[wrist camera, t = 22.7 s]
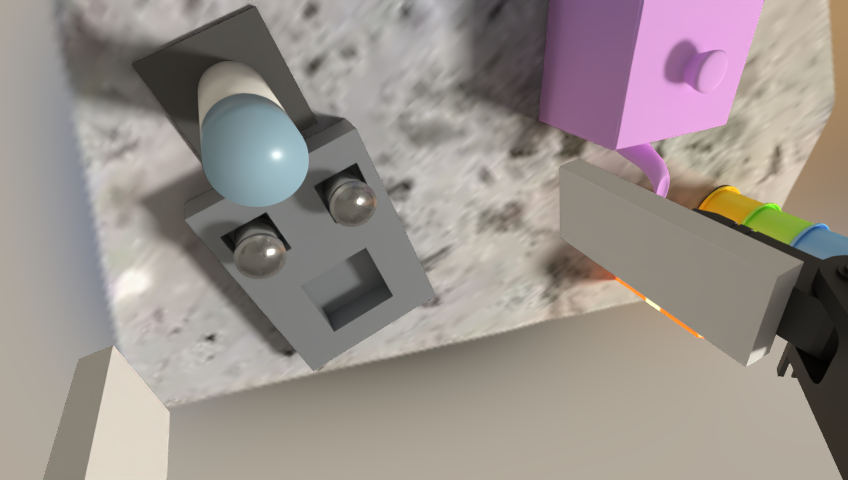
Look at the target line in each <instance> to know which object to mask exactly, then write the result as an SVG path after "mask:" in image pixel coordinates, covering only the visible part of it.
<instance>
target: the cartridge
mask: <svg viewBox="0 0 848 480" xmlns="http://www.w3.org/2000/svg"><path fill="white" fill-rule="evenodd" d="M198 108H199V124H200V139H201V155H202V165H203V169H204V173H205V175H206V177H207V179H208V181H209V182H210V184H211V185H212V186H213V188H214V189H215V190H216V191H217V192H218V193H219V194H220V195H222V196H223V197H225V198H226V199H228V200H230V201H232V202H234V203H237V204H240V205H244V206H249V207H265V206H270V205H274V204H277V203H279V202H281V201H283V200H285V199H287V198H288V197H290V196H291V195H292V194H293V193H294V192H295V191H296V190H297V189H298V188H299V187H300V186H301V184H302V182H303V181H304V179H305V176H306V174H307V170H308V165H309V155H308V149H307V146H306V143H305V141H304V139H303V137H302V135H301V134H300V132H299V131H298V129H297V128H296V126H295V125H294V123H293V122H292V120H291V119H290V117H289V116H288V115H287V113H286V112H285V110H284V109H283V107H282V106H281V104H280V103H279V101H278V100H277V98H276V97H275V95H274V94H273V93H272V91H271V90H270V88H269V87H268V85H267V84H266V82H265V81H264V79H263V78H262V77H261V75H260V74H259V73H258V72H257V71H256V70H254V69H253V68H252V67H250V66H248V65H246V64H244V63H241V62H237V61H222V62H219V63H216V64H214V65H212V66H210V67H209V68H208V69H207V70H206V71H205V72H204V73H203V75H202V76H201V78H200V80H199V83H198Z"/></svg>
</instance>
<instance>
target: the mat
mask: <svg viewBox="0 0 848 480" xmlns="http://www.w3.org/2000/svg"><path fill="white" fill-rule="evenodd" d="M222 61H237V62H241V63H244V64H246V65H248V66H250V67H252V68H253V69H254V70H256V71H257V72H258V73H259V74H260V75H261V77H262V78H263V79H264V81H265V82H266V84H267V85H268V87H269V88H270V90H271V91H272V93H273V94H274V95H275V97H276V98H277V100H278V101H279V103H280V104H281V106H282V107H283V109H284V110H285V112H286V113H287V115H288V116H289V117H290V119H291V120H292V122H293V123H294V125H295V126H296V128H297V129H298V131H299V132H300V131H302V130H304V129H306V128H308V127H309V126H311V125H313V124H315V123H317V121H316V119H315V117H314V115H313V114H312V112H311V110H310V108H309V106H308V104H307V102H306V100H305V98H304V97H303V95H302V93H301V91H300V89H299V87H298V85H297V83H296V82H295V80H294V78H293V76H292V74H291V72H290V70H289V68H288V66H287V65H286V63H285V61H284V59H283V57H282V55H281V53H280V51H279V49H278V48H277V46H276V44H275V42H274V40H273V38H272V36H271V34H270V33H269V31H268V29H267V27H266V25H265V23H264V21H263V19H262V17H261V16H260V14H259V12H258V10H257V8H256V6H255V7H252V8H250V9H248V10H246V11H244V12H242V13H240V14H238V15H235V16H233V17H231V18H229V19H227V20H225V21H223V22H221V23H218V24H216V25H214V26H212V27H210V28H208V29H206V30H204V31H201V32H199V33H197V34H195V35H193V36H191V37H189V38H186V39H184V40H182V41H180V42H178V43H176V44H174V45H172V46H169V47H167V48H165V49H163V50H161V51H159V52H157V53H155V54H152V55H150V56H148V57H146V58H144V59H142V60H140V61H138V62H135V63H133V64H132V65H133V67H134V68H135V69H136V71H137V72H138V73H139V75H140V76H141V78H142V79H143V80H144V82H145V83H146V84H147V86H148V87H149V88H150V90H151V91H152V92H153V94H154V95H155V96H156V98H157V99H158V100H159V102H160V103H161V104H162V106H163V107H164V108H165V110H166V111H167V112H168V114H169V115H170V116H171V118H172V119H173V121H174V122H175V123H176V125H177V126H178V127H179V129H180V130H181V131H182V133H183V134H184V135H185V137H186V138H187V139H188V141H189V142H190V143H191V145H192V146H193V147H194V149H195V150H196V151H197V153H198V154H199V155H200V157H201V158H202V155H201V139H200V124H199V108H198V83H199V80H200V78H201V76H202V75H203V73H204V72H205V71H206V70H207V69H208V68H209V67H210V66H212V65H214V64H216V63H219V62H222Z"/></svg>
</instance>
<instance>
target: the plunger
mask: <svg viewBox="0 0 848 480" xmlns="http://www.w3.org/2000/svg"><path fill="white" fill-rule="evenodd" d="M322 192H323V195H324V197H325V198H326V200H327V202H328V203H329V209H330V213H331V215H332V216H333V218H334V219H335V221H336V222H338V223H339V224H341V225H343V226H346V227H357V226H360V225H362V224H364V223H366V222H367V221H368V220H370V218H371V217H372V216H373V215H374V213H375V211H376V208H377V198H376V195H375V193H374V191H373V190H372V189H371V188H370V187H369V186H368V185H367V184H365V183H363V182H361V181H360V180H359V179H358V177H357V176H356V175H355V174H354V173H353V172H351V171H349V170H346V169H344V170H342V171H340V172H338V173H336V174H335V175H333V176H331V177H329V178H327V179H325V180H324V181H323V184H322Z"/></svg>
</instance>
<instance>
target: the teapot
mask: <svg viewBox="0 0 848 480" xmlns="http://www.w3.org/2000/svg"><path fill="white" fill-rule="evenodd" d="M763 3H764V0H549V8H548V19H547V30H546V41H545V52H544V63H543V74H542V85H541V96H540V107H539V118H538V120H539V121H541V122H544V123H546V124H549V125H551V126H554V127H556V128H559V129H561V130H564V131H566V132H569V133H571V134H574V135H576V136H578V137H581V138H583V139H586V140H588V141H591V142H593V143H596V144H598V145H601V146H603V147H606V148H608V149H611V150H615V151H617V152H618V153H619V154H621V155H622V156H623V157H625V158H626V159H628V160H629V161H631V162H632V163H634V164H635V165H636V166H638V167H639V168H640V169H641V170H642V171H643V172H644V173H645V174H646V175H647V176H648V178H649V180H650V182H651V184H652V186H653V191H654V193H655V194H658V195H660V196H662V197H664V198H665V197H666V195H667V192H668V189H669V182H670V176H669V172H668V169H667V166H666V165H665V163H664V161H663V160H662V158H661V157H660V156H659V155H658V153H657V152H656V151H655V150H654V149H653V148H652V146H651V145H650V143H649V142H653V141H658V140H662V139H667V138H671V137H675V136H679V135H684V134H688V133H692V132H696V131H700V130H704V129H709V128H713V127H717V126H720V125H724V124H726V123H727V119H728V115H729V112H730V109H731V106H732V103H733V99H734V96H735V93H736V90H737V87H738V84H739V81H740V77H741V74H742V71H743V68H744V65H745V62H746V58H747V55H748V52H749V49H750V46H751V42H752V39H753V36H754V32H755V29H756V26H757V22H758V19H759V16H760V13H761V9H762V6H763Z"/></svg>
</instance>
